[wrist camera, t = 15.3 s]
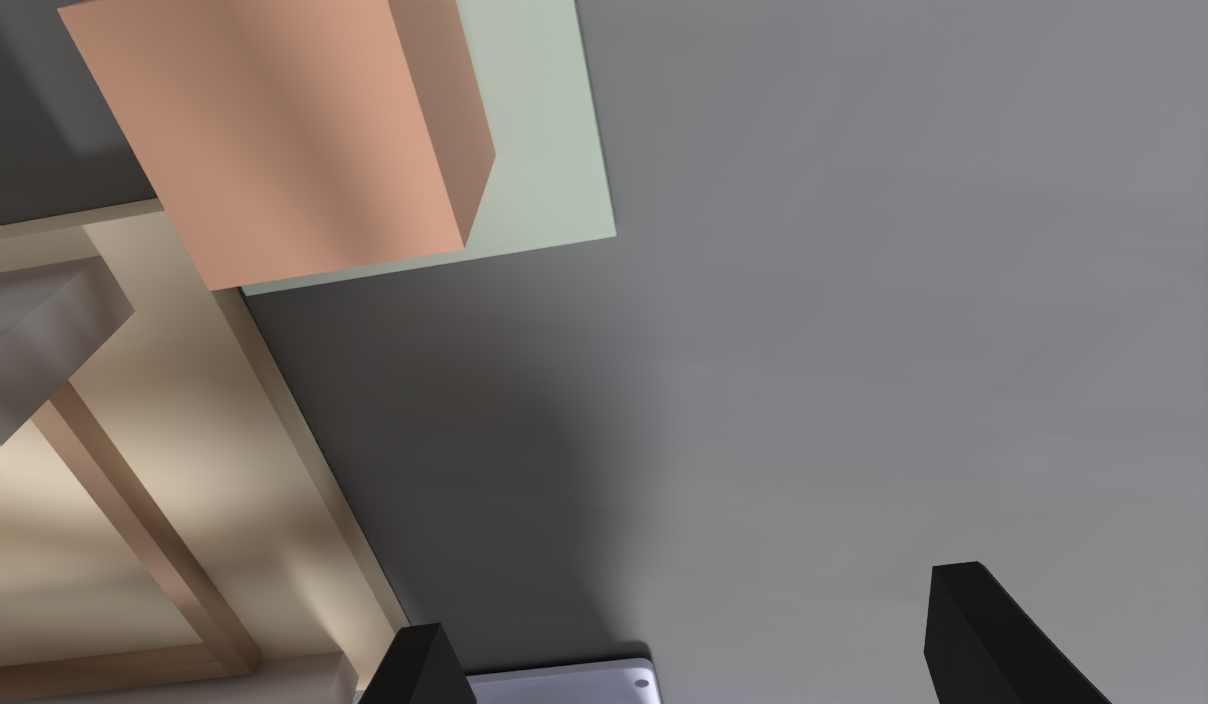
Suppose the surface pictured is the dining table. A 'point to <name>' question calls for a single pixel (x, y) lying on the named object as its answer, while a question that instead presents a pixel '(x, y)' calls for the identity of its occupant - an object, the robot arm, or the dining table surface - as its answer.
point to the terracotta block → (296, 126)
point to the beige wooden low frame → (164, 488)
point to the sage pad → (522, 139)
